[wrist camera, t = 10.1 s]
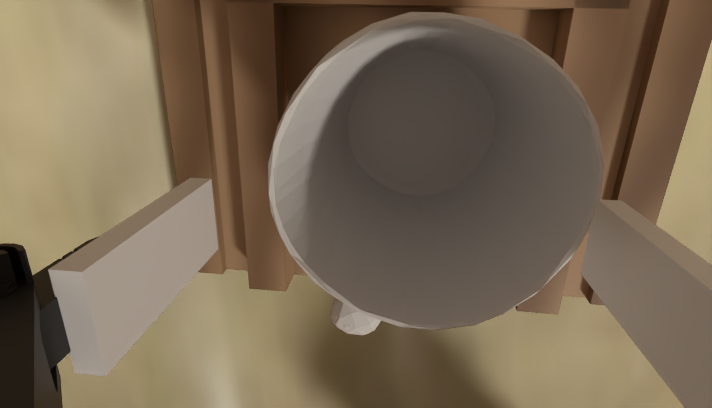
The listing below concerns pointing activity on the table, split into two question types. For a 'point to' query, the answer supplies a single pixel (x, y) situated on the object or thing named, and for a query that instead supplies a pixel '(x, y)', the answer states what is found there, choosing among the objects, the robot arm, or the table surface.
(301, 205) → the mug
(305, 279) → the table surface
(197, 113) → the rack
